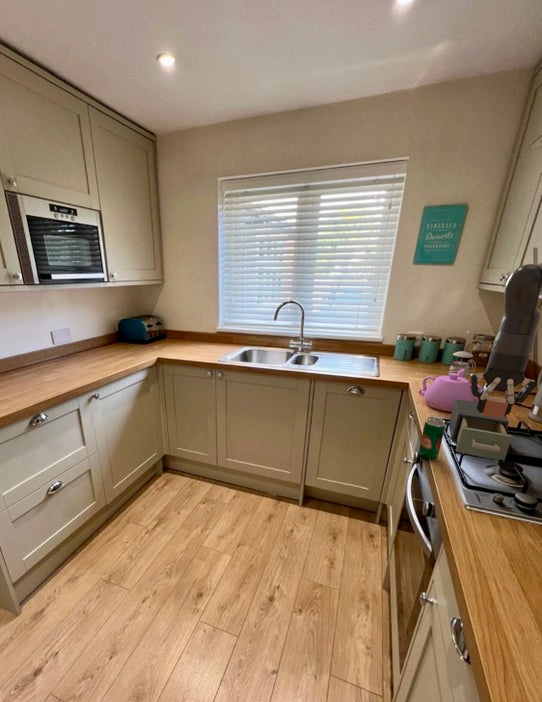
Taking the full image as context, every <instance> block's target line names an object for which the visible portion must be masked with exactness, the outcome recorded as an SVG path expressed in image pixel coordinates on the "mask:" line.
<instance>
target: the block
mask: <svg viewBox="0 0 542 702" xmlns="http://www.w3.org/2000/svg"><path fill="white" fill-rule="evenodd" d="M485 400H486V402H485V405H484V409H483V412H482V416H487V417H493V418H499V419H503V418H504V415H505V412H506V409H507V406H508V403H507V401H506V397H499V396H492V395H488V396H487V397H486V399H485Z"/></svg>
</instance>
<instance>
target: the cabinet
mask: <svg viewBox="0 0 542 702" xmlns="http://www.w3.org/2000/svg"><path fill="white" fill-rule="evenodd" d="M476 405H477V402H472V401H465V400H458V399H455V402H454V406H453V410H452V412H451V413H450V414H451V415H450V419H449V422H448V427H449V434H450V441H451V440H452V441H451V442H453V441H454V442H455V443H458V441H457V436H456V433H457V429H458V425H459V422H460V418H461V417H466V418H473V419H479V420H485V421H491V422H498V423H502V424H503V426H504V428H505V430H506V431H508V427H509V424H510V421H509V419H508V417H507V416H506V417H505V416H504V418H503V419H499V418H493V417H487V416H482V413H479V412H478V410H477V408H476Z"/></svg>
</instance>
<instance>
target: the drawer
mask: <svg viewBox="0 0 542 702" xmlns="http://www.w3.org/2000/svg"><path fill="white" fill-rule="evenodd" d="M456 436H457V441H458V442H457V443H456V448H455V452H456V453H460V454H465V455H470V456H475V457H481V458H485V459H490V460H494V461H499V460H503V461H502V462H505V460H506V457H507V454H508V450H509V448H510V445H511V441H512V440H513V439H512V438H513V436H512V434H508V433H507V430H505V428H504V426H503V424H502V423H498V422H491V421H485V420H479V419H473V418H466V417H461V418H460V422H459V425H458V429H457V433H456Z"/></svg>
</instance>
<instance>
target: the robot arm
mask: <svg viewBox="0 0 542 702" xmlns="http://www.w3.org/2000/svg"><path fill="white" fill-rule="evenodd" d="M503 295H504V296H503V315H502V318H501V322H500V324H499V328H498V332H497V334H496V336H495V339H494V341H493V344H492V349H491V350H490V351H491V352H490V355H489V359H488V362H487V366H486V368H485V369H484V370H483V372H478V373H475V372H473V373H472V372H471V373H470V374H469V378H470V380H469V381H470V384H471V391H472V394H473V396H474V397H475V398H476V397H478V400H477V401H478V402H477V405H476V408H477V410H478V412H479V413H482V412H483V409H484V405H485V402H486V400H485V399H486V397H487V396H490V394H491V393H492V392H493V391H495V390H497V391H499V390H501V391H504V392H505V400H506V401H507V403H508V406H507V409H506V412H505V415H504V416H505V417H507V416H509V415H510V414H511V411H512V408H513V405H514V404H516V403H517V404H518V403H519V404H521V403H524V402H525V401H526V399H527V398H528V397H529V396H530V395H531V393H532V392H533V391H534V389H536V387H537V385H538V383H537V381H535V380H534V379H533V378H531V379H530V378H526V376H525V371H526V368H527V365H528V362H529V360H530V357H531V353H533V348H534V344H535V339H536V334H537V331H538V328H539V325H540V322H541V319H542V311H541V309H539V308H538V304H539V298H540V296H542V262H541V263H527V264H524V265H520V266H519V267H517V268H516V269H514V270H513V271H512V273H511V274H510V275H509V276H508V278H507V280H506V283H505V286H504V294H503ZM482 378H483V379H484V381H485V382H486V383H485V385H484V386H482V389H483V390H482V391H481V392H479V389H478V385H479V384H478V383H480V382H481V379H482ZM521 383H522V388H521V389H520V391H518V394H516V396H515V387H517V386H519V385H520V384H521ZM477 384H478V385H477Z"/></svg>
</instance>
